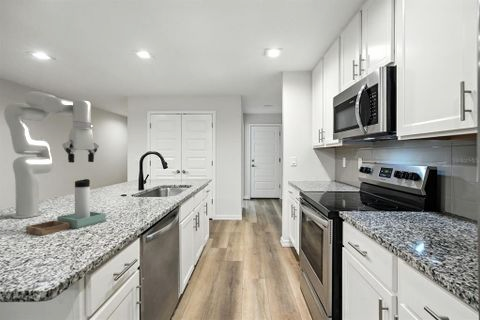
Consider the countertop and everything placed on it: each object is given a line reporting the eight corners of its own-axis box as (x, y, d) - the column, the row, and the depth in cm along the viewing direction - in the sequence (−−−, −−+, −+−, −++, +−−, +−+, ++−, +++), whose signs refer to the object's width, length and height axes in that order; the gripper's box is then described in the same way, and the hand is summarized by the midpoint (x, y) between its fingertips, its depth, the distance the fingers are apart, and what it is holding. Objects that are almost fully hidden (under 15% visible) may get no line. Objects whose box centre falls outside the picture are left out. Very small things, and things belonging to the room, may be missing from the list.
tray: (57, 225, 122) (57, 216, 122) (86, 218, 135) (86, 210, 135) (77, 229, 116) (77, 220, 116) (105, 221, 130) (105, 213, 129)
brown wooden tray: (26, 232, 111) (26, 226, 111) (54, 225, 121) (53, 220, 121) (41, 235, 107) (41, 229, 107) (69, 228, 117) (69, 223, 117)
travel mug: (93, 219, 129) (93, 179, 129) (84, 223, 123) (83, 180, 122) (81, 219, 130) (81, 179, 130) (71, 222, 123) (71, 180, 123)
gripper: (93, 128, 134) (92, 161, 135) (57, 124, 119) (57, 162, 119) (103, 128, 131) (102, 162, 132) (68, 124, 116) (68, 163, 116)
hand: (81, 162), depth 125 cm, fingers open, 9 cm apart
